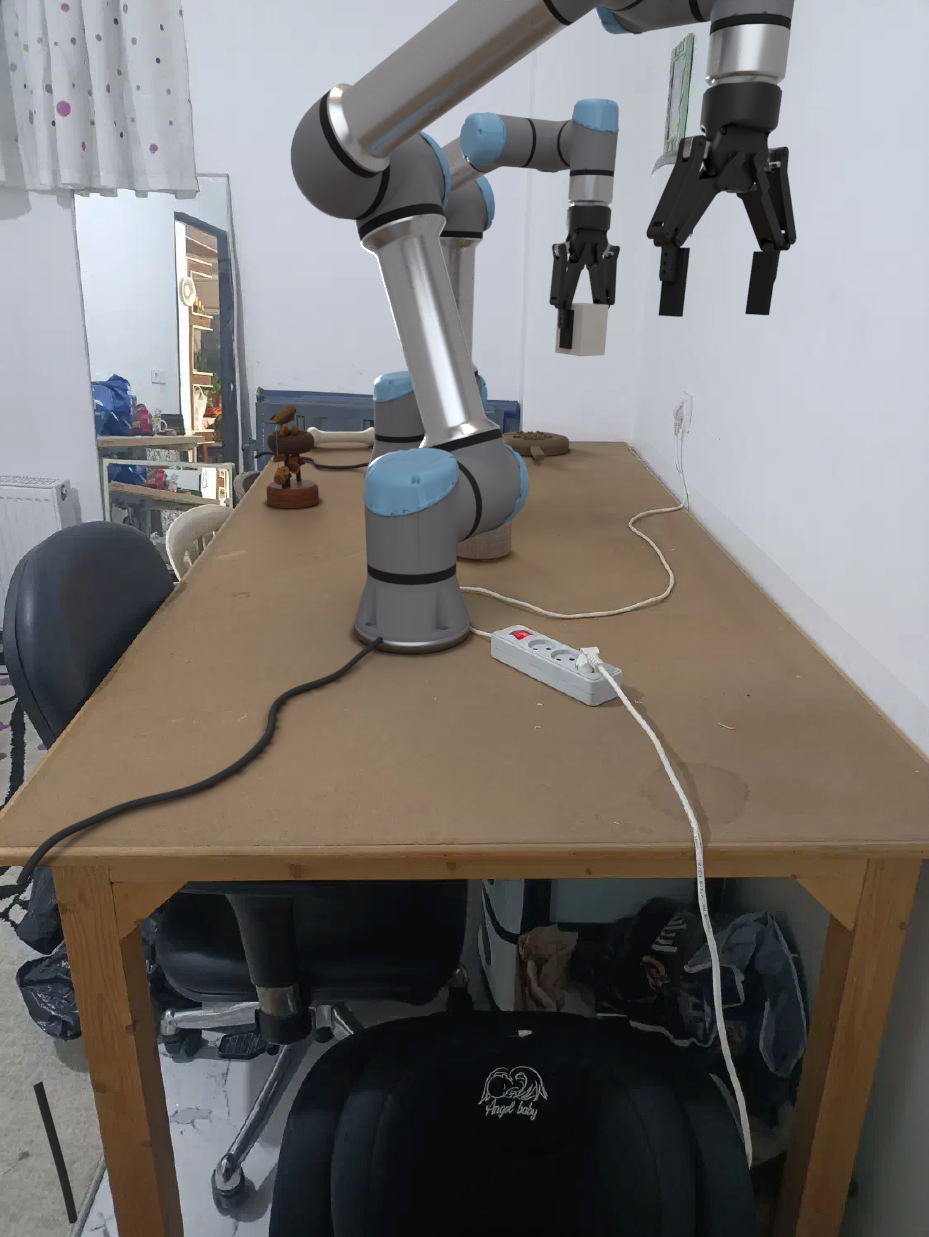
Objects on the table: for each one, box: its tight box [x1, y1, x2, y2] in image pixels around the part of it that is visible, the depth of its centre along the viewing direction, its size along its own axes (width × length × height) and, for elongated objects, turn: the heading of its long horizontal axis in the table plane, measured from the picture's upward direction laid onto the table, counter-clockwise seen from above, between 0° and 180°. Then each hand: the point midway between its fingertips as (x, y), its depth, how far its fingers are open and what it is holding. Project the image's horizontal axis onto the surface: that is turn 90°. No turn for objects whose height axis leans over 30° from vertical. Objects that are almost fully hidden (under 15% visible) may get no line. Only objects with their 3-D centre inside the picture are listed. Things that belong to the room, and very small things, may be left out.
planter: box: [457, 519, 513, 562], centre depth 143 cm, size 11×11×10 cm
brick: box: [554, 302, 609, 357], centre depth 152 cm, size 6×7×8 cm
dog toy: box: [306, 426, 375, 447], centre depth 230 cm, size 20×6×5 cm, turn 99°
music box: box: [264, 403, 320, 509], centre depth 172 cm, size 15×11×20 cm
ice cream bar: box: [502, 430, 570, 461], centre depth 224 cm, size 21×28×4 cm
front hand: (715, 315), depth 91 cm, fingers open, 13 cm apart
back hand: (579, 347), depth 153 cm, fingers closed on brick, 6 cm apart
